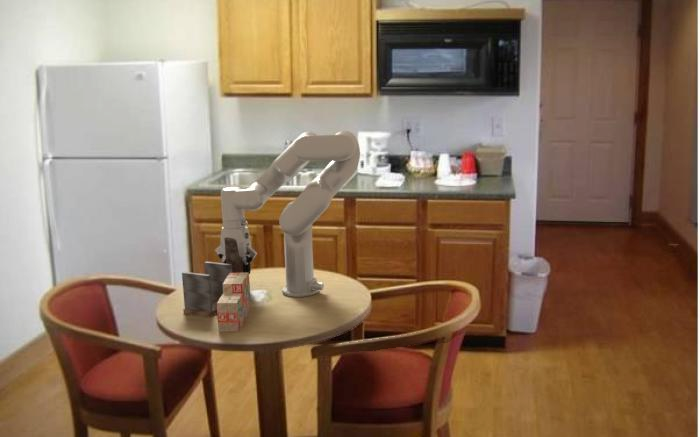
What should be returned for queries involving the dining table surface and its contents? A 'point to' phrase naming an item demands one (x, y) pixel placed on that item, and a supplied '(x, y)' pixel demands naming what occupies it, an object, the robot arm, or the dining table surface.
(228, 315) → the stack of blocks
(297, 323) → the dining table surface
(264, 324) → the dining table surface
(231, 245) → the dark upright piece
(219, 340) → the dining table surface
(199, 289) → the shelf
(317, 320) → the dining table surface
